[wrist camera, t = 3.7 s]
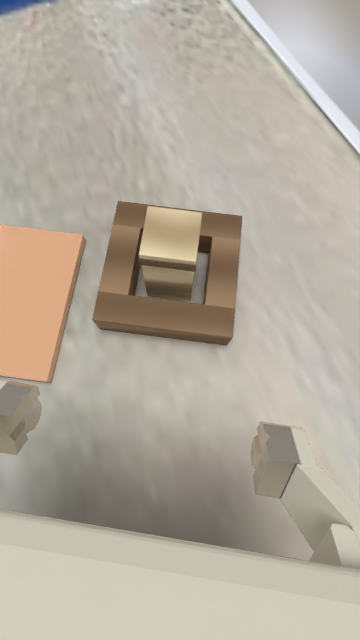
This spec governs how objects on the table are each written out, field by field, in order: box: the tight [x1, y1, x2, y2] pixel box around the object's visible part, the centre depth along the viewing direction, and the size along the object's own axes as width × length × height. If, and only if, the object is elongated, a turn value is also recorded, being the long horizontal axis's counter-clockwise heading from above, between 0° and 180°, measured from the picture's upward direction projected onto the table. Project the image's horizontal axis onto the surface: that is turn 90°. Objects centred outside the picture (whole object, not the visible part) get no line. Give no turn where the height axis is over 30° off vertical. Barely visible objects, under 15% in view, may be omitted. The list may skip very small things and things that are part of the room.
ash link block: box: [139, 206, 202, 301], centre depth 26 cm, size 4×4×8 cm
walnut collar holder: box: [92, 201, 242, 345], centre depth 28 cm, size 12×12×3 cm
